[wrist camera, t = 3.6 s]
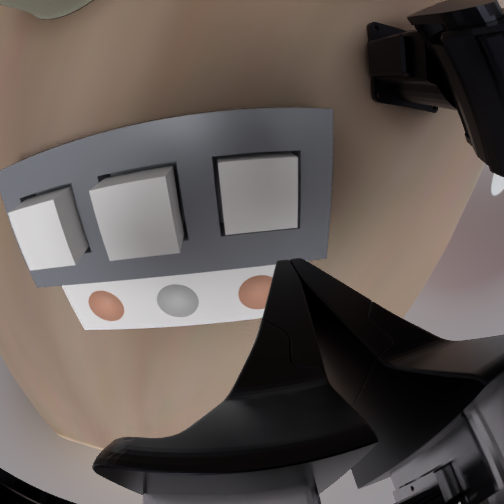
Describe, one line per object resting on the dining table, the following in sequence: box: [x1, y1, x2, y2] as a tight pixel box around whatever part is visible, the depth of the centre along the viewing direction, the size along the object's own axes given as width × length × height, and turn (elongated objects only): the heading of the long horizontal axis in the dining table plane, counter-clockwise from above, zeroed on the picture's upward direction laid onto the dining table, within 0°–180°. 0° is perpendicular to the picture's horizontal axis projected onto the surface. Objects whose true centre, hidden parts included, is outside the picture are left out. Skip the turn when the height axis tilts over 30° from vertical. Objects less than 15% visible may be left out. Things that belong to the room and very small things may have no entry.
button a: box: [8, 186, 89, 271], centre depth 14 cm, size 4×4×2 cm
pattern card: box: [62, 261, 308, 330], centre depth 23 cm, size 22×6×1 cm, turn 93°
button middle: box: [89, 166, 184, 261], centre depth 15 cm, size 4×4×2 cm
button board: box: [0, 107, 333, 288], centre depth 17 cm, size 23×10×3 cm, turn 93°
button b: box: [218, 151, 298, 235], centre depth 16 cm, size 4×4×2 cm
